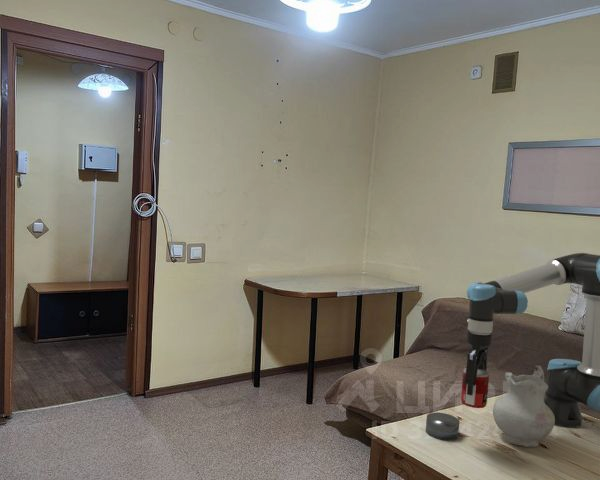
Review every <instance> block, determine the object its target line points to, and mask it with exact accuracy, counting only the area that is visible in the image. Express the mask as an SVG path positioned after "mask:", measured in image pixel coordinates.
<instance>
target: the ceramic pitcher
mask: <svg viewBox="0 0 600 480" xmlns="http://www.w3.org/2000/svg"><path fill="white" fill-rule="evenodd" d="M504 378H505V381H506V385H507V393H506V394H505V395H504V396H501V397H499V398H497V399H496V400H495V401H494V403H493V406H492V407H493V408H492V416H493V420H494V422H495V424H496V426H497V428H498V429H499V430H500V431H501V432H503V433H502V435H501V437H500V438H501V440H502V442H504V443H506V444H507V443H508V444H512V445H518V446H521V447H526V448H536V447H539V446H540V443H539V441H541V440H544V439H545V438H547V437H548V436H549V435H550V434H551V432H552V431H553V429H554V426H555V417H554V414H553V412H552V411H551V410H550V408H549V407H548V406H547V405H546V404H545V402H544V397H545V392H546V391H547V389H548V385H547V384H546V382H545V373H544V369H543V367H542V366H541V365H539V364H538V365H537V364H536V365H535V366H534V371H533V374H532V375H531V374H530V375H529V374H528V375H527V374H520V375H518V376H516V375H515V374H513V373H512V372H509V371H505V374H504Z"/></svg>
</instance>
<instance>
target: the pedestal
mask: <svg viewBox="0 0 600 480" xmlns="http://www.w3.org/2000/svg"><path fill="white" fill-rule="evenodd" d="M425 421H426V422H425V434H427V435H428V436H430V437H431V438H433V439H436V440H439V441H440V440H441V441H448V442H449V441H454V440H457V439H458V438H459V432H460V419H458V418H457V416H454V415H451V414H449V413H445V412H431V413H428V414H427V415H426V420H425Z"/></svg>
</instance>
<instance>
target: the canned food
mask: <svg viewBox="0 0 600 480" xmlns="http://www.w3.org/2000/svg"><path fill="white" fill-rule="evenodd" d="M462 373H463V374H462V384H461V397H460V398H461V399H460V400H461V403H462V404H463V406H464V405H465V406H467V407H470V408H473V409H483V408H486V406H487V404H488V403H487V402H488V391H489V383H490V372H489V371H486V370H482V369H478V371H477V376H476V381H475V385H476V391H475V403H474V405H470V404H467V403H465V400H466V387H467V384H465V383H464V381H465V375H466V367H465V368H464V369H463V372H462Z"/></svg>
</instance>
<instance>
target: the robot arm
mask: <svg viewBox="0 0 600 480" xmlns="http://www.w3.org/2000/svg"><path fill="white" fill-rule="evenodd" d="M564 284H572V285H573V284H575V285H578V286H582V287H581V294H583V296H585V298H586V301H585V302H586V303H585V318H584V330H583V331H584V332H583V346H582V359H581V360H582V361H579V360H575V359H569V358H568V359H567V358H553V359H550V360H549V362H548V365H547V368H546V369H547V371H546V378H545V379H546V382H545V383H546V384H547V385H548V389H547V391H546V392H545V394H544V402H545V404H546V405H547V406H548V407H549V408H550V410H551V411H552V412H553V414H554V417H555V424H554V426H558V427H559V426H560V427H563V428H579V427H581V426H582V424H583V415H582V411H581V406H580V404H583V405H584V406H587V407H588V408H590V409H593V410H596V411H598V412H600V255H599V254H591V253H586V252H585V253H584V252H577V253H576V252H575V253H572V254H567V255H564V256H560V257H559V256H558V257H556V258H553V259H550V260H548V261H547V262H546V263H545V264H543V265H540V266H537V267H533V268H530V269H527V270H523V271H520V272H517V273H515V274H510V275H506V276H504V277H501V278H499V279H495V280H491V281H488V282H484V283H483V282H481V281H479V282H478V281H477V282H476V281H475V282H472V283H470V285H468V287H467V289H466V295H467V298H468V300H469V309H468V319H467V320H466V323H468V324H467V332H466V343H467V344H469V345H471V349H470V350H469V352H467V357H466V358H467V359H466V367H465V368H466V375H465V381H464V383H465V384H467V387H466V400H465V403H467V404H470V405H474V403H475V391H476V385H475V381H476V376H477V371H478V369H482V370H486V371H487V370H488V369H487V367H488V351H489V350H488V349H489V347H490V346H491V345H492V339H493V337H492V334H491V333H493V329H494V327H493V324H494V316H495V315H517V314H522V313H524V312H526V310H527V308H528V302H529V301H528V297H527V295H526V294H527V293H530V292H533V291H535V290H539V289H542V288H546V287H549V286H552V285H555V286H562V285H564ZM487 372H488V371H487Z"/></svg>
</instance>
